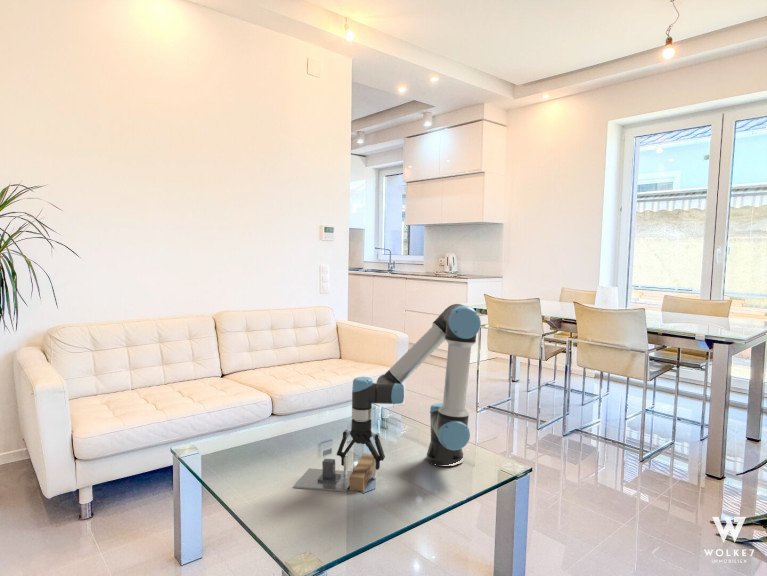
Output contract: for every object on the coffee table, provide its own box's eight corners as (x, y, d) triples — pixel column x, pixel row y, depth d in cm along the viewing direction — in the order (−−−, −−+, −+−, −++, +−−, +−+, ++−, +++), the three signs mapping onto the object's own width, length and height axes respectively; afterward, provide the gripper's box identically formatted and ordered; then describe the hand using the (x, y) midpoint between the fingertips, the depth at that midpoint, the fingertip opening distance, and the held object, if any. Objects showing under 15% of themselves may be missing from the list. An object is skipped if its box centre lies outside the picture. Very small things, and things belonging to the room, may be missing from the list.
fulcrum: (357, 473, 186) (357, 454, 186) (346, 492, 171) (345, 470, 170) (309, 469, 190) (308, 450, 190) (293, 487, 175) (292, 467, 175)
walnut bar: (363, 466, 194) (363, 453, 194) (375, 466, 193) (375, 454, 193) (349, 490, 172) (349, 476, 172) (363, 491, 171) (363, 477, 171)
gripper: (393, 418, 183) (392, 475, 184) (335, 413, 188) (333, 468, 189) (389, 424, 176) (388, 483, 177) (328, 418, 181) (327, 476, 182)
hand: (360, 475), depth 183 cm, fingers open, 11 cm apart
